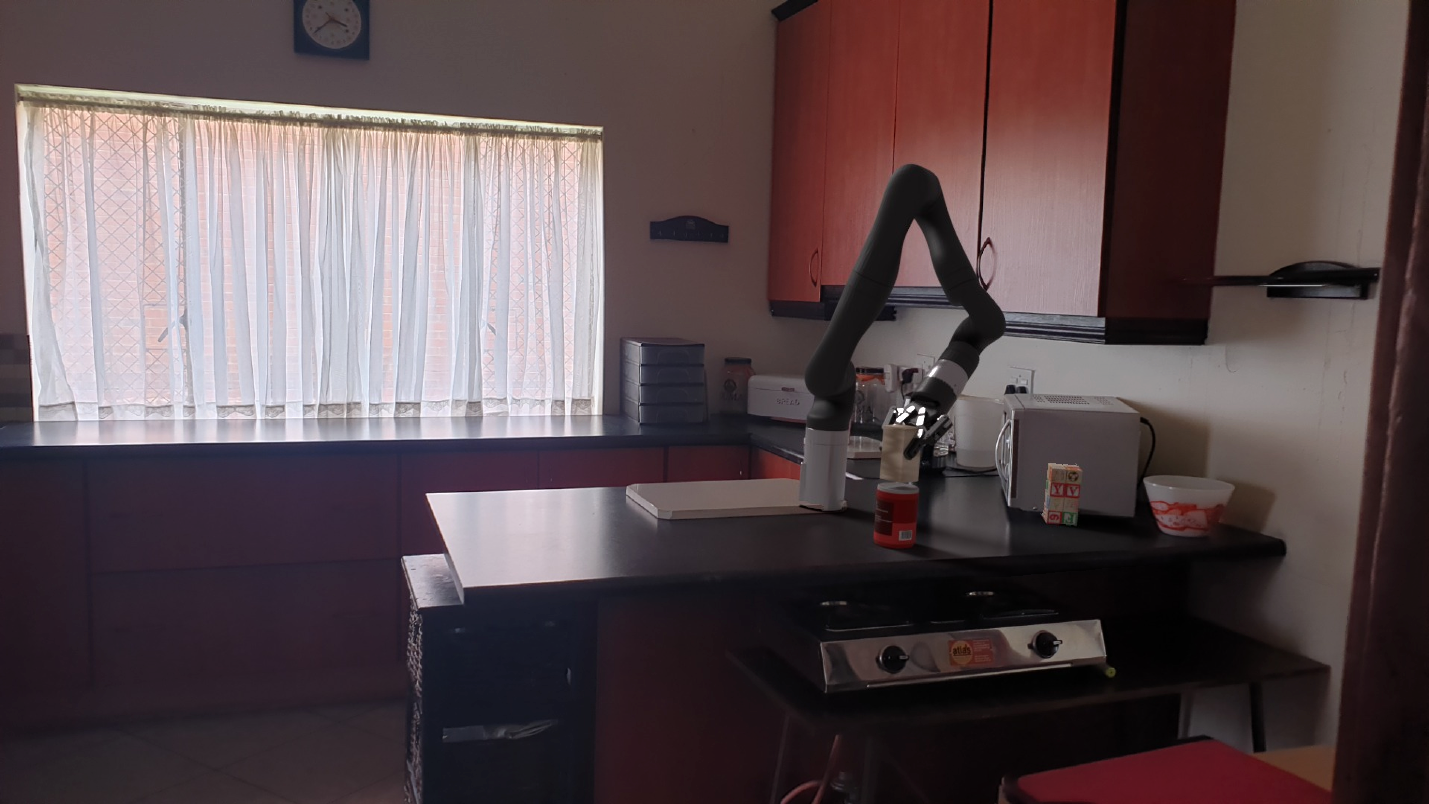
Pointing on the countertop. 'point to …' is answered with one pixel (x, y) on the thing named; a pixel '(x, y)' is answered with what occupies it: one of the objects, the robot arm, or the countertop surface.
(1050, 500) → the stack of blocks
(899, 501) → the canned food
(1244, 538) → the countertop surface
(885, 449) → the oak block
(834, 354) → the robot arm
